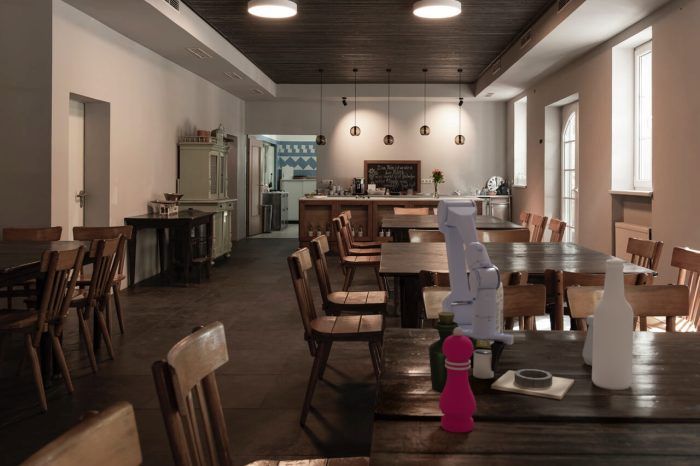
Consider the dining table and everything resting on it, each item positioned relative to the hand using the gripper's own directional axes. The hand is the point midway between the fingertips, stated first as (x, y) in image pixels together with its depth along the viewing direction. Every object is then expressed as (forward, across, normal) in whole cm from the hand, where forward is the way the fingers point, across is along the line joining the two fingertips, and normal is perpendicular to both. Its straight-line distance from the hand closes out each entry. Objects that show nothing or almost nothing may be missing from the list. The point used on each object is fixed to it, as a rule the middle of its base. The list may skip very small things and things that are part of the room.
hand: (483, 368), depth 161 cm
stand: (+2, +13, -2) cm, 13 cm away
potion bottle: (+2, -4, -15) cm, 16 cm away
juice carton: (+2, -9, +30) cm, 31 cm away
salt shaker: (+2, +22, +25) cm, 33 cm away
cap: (+2, 0, 0) cm, 2 cm away
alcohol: (+2, +29, +8) cm, 30 cm away
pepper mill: (+2, +7, -36) cm, 37 cm away
